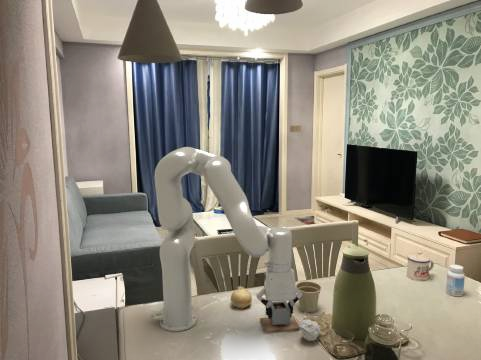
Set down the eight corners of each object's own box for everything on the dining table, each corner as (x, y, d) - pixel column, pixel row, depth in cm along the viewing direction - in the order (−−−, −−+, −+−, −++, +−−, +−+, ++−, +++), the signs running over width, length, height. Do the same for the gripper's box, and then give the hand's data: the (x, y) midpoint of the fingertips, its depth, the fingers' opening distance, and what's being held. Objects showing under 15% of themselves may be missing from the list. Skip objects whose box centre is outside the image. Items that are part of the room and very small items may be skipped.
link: (272, 324, 130) (272, 310, 129) (268, 315, 136) (268, 302, 135) (290, 323, 130) (290, 309, 130) (285, 314, 136) (286, 300, 135)
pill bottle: (463, 292, 157) (466, 265, 155) (462, 298, 152) (465, 270, 150) (446, 288, 160) (448, 262, 158) (444, 294, 155) (447, 267, 153)
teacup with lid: (414, 282, 167) (416, 256, 165) (401, 273, 176) (403, 248, 174) (439, 279, 169) (441, 253, 167) (425, 271, 178) (427, 246, 176)
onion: (255, 303, 149) (255, 285, 148) (245, 312, 142) (245, 294, 141) (237, 299, 153) (236, 281, 152) (226, 307, 146) (226, 289, 145)
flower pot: (320, 316, 139) (321, 293, 138) (294, 313, 141) (294, 291, 140) (321, 304, 148) (321, 282, 147) (295, 301, 150) (296, 280, 149)
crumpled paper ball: (294, 339, 125) (295, 319, 124) (309, 332, 129) (310, 312, 128) (309, 348, 120) (309, 327, 119) (324, 340, 125) (324, 320, 123)
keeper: (264, 333, 129) (264, 314, 128) (259, 320, 137) (259, 303, 136) (299, 330, 130) (300, 312, 129) (293, 318, 138) (293, 301, 137)
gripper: (255, 271, 125) (255, 323, 128) (308, 268, 127) (307, 320, 130) (252, 262, 132) (252, 312, 135) (302, 260, 135) (301, 309, 138)
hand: (279, 315), depth 133 cm, fingers open, 6 cm apart
